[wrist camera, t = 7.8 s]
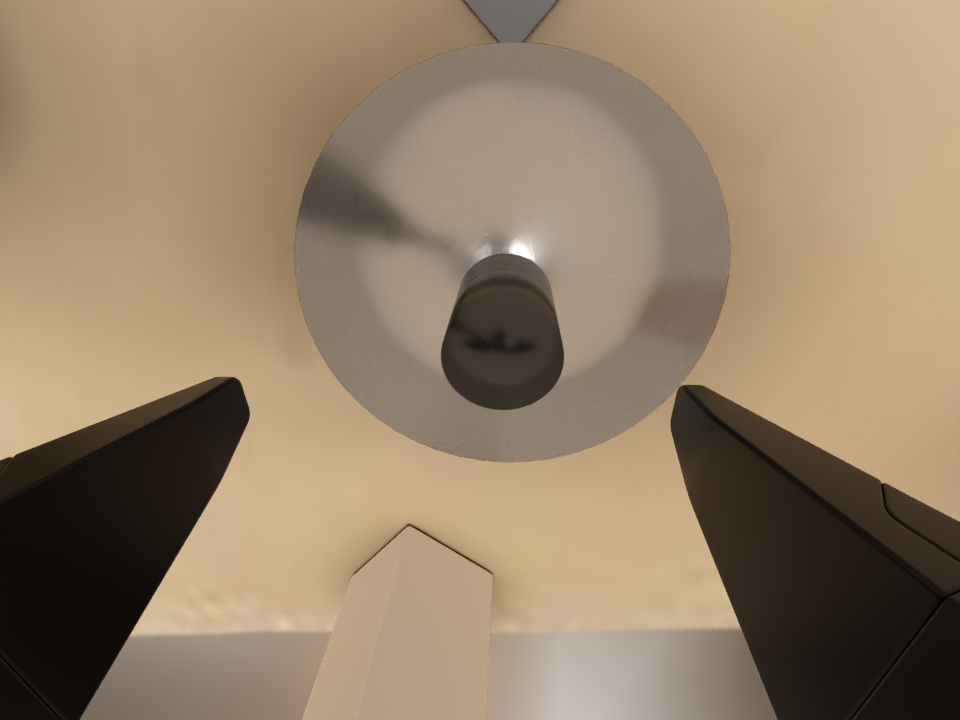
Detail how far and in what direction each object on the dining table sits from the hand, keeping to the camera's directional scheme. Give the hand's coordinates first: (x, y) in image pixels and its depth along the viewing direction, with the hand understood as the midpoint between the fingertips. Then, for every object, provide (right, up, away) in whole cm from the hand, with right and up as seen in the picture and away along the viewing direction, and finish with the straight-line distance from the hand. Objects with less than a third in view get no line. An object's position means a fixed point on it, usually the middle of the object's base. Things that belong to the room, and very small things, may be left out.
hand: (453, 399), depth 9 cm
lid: (+1, +3, +6) cm, 7 cm away
